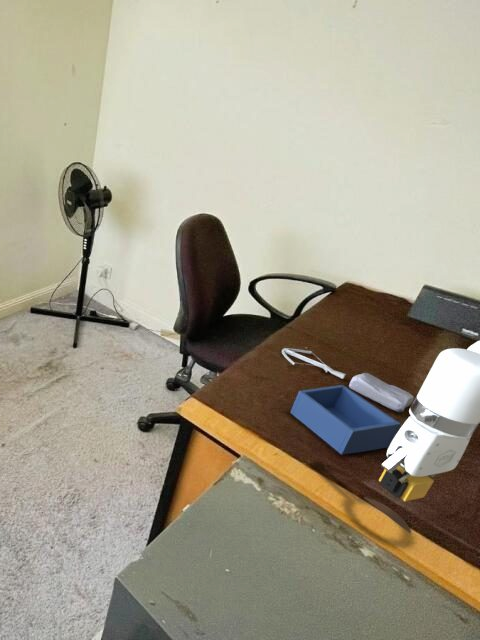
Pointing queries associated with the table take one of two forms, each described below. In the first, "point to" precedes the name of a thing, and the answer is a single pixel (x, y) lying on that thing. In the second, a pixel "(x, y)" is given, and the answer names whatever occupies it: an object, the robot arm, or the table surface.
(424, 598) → the table surface
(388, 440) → the blue storage tray
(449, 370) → the robot arm
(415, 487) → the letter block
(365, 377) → the stone block
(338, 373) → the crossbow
